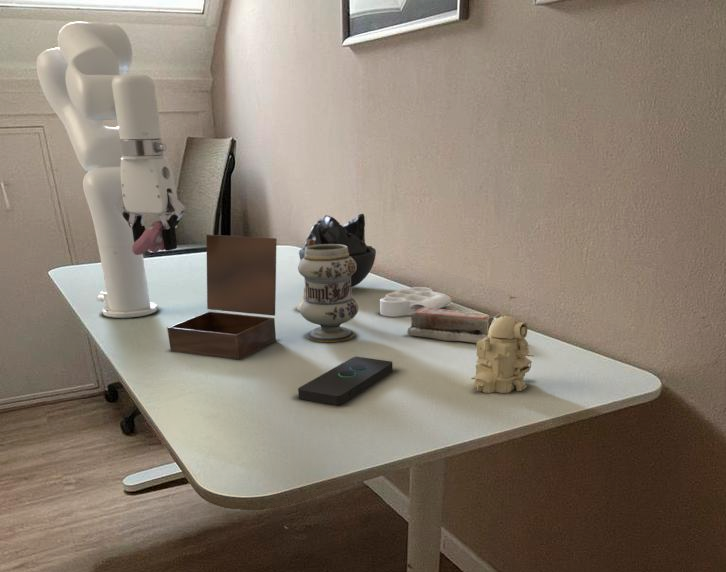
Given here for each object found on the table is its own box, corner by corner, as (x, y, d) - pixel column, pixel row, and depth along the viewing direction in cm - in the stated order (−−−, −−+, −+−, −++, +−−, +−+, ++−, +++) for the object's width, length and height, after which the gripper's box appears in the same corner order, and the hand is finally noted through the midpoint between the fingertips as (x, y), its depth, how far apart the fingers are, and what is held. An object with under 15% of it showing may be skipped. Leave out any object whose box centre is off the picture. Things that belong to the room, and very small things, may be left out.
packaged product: (405, 313, 146) (423, 302, 154) (405, 336, 148) (423, 325, 156) (491, 321, 139) (505, 310, 147) (489, 346, 141) (503, 333, 149)
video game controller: (149, 264, 139) (160, 230, 136) (128, 252, 139) (138, 218, 136) (171, 255, 148) (182, 223, 144) (152, 244, 148) (161, 212, 144)
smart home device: (395, 361, 127) (339, 395, 112) (394, 370, 128) (340, 406, 112) (354, 355, 131) (295, 388, 115) (354, 364, 132) (295, 398, 116)
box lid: (274, 238, 139) (276, 238, 140) (206, 234, 145) (208, 234, 146) (273, 315, 144) (275, 315, 145) (207, 309, 150) (209, 309, 150)
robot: (507, 400, 114) (515, 306, 107) (465, 389, 118) (470, 299, 112) (540, 383, 121) (549, 294, 114) (498, 374, 125) (505, 287, 119)
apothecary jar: (325, 325, 156) (322, 240, 148) (370, 333, 150) (369, 244, 142) (289, 338, 148) (283, 248, 139) (335, 347, 141) (332, 253, 133)
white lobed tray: (420, 321, 159) (365, 313, 166) (457, 305, 172) (405, 298, 179) (420, 306, 157) (365, 298, 164) (458, 291, 170) (405, 284, 178)
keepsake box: (239, 359, 135) (236, 335, 133) (170, 350, 141) (167, 327, 139) (276, 340, 147) (274, 317, 144) (210, 333, 152) (208, 311, 150)
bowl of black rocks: (292, 296, 182) (288, 219, 174) (310, 280, 200) (307, 209, 191) (369, 298, 179) (368, 219, 171) (381, 282, 197) (381, 209, 188)
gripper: (192, 149, 134) (203, 248, 143) (119, 148, 141) (133, 243, 149) (167, 151, 128) (180, 254, 137) (92, 150, 135) (109, 249, 143)
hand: (155, 247), depth 143 cm, fingers closed on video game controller, 6 cm apart
